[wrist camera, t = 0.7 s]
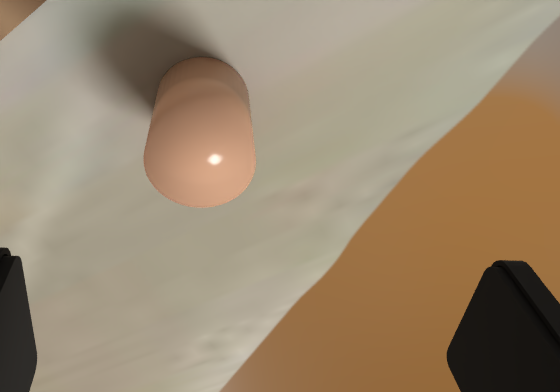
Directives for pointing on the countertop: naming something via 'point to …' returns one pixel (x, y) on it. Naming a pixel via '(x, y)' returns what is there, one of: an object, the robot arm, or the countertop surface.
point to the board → (15, 13)
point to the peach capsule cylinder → (201, 134)
